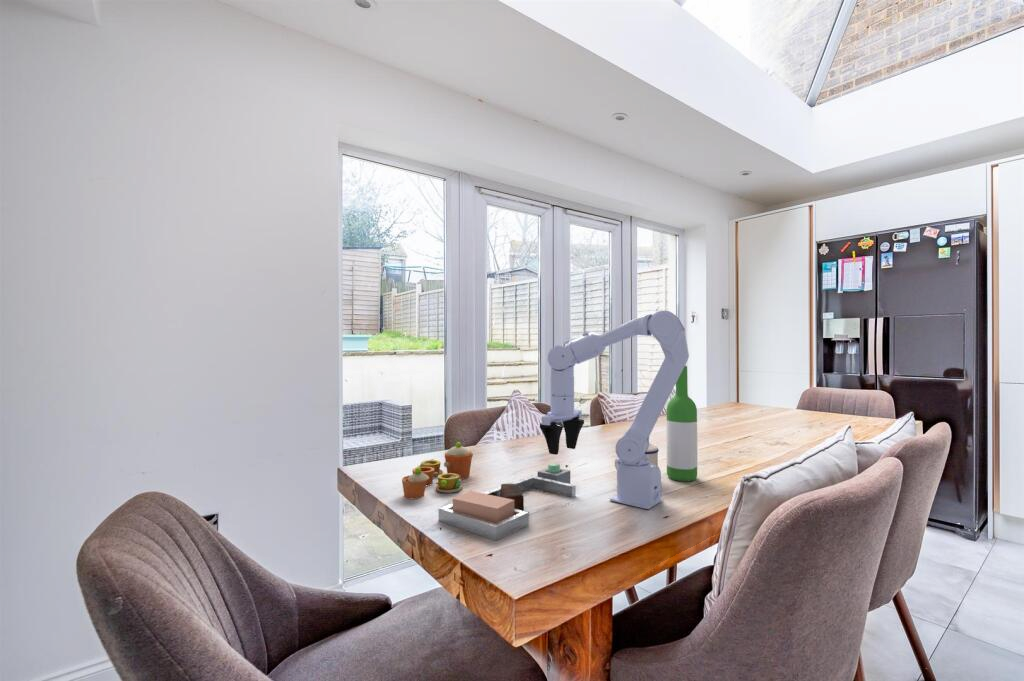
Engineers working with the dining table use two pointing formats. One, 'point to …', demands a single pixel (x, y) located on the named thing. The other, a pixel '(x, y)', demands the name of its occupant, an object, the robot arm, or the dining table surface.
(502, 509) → the twin block
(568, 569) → the dining table surface
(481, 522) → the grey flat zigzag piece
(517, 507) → the brick
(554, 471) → the button
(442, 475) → the toy tea set
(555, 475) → the console
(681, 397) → the wine bottle
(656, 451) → the teacup with lid
